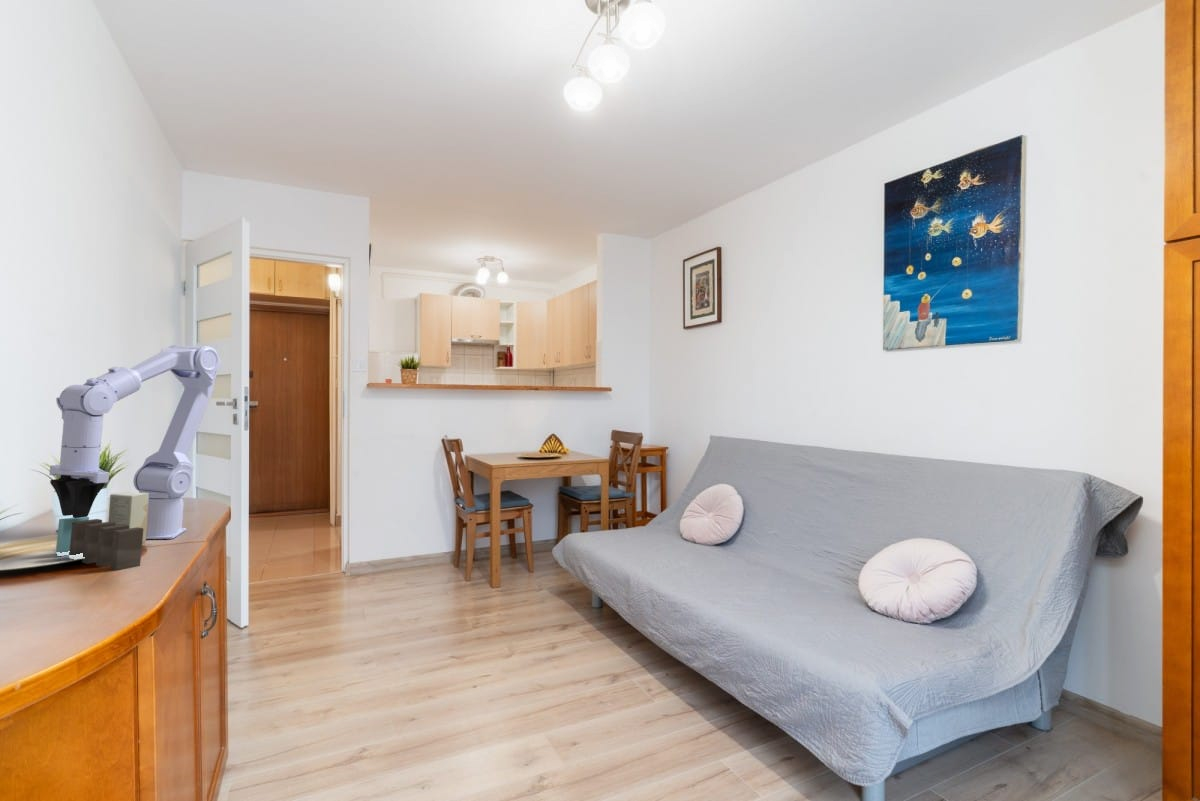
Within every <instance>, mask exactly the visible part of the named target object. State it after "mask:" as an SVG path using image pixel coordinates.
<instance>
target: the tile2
mask: <svg viewBox="0 0 1200 801" xmlns="http://www.w3.org/2000/svg"><path fill="white" fill-rule="evenodd" d="M96 523H103V520H102V519H99V518H94V519H89V520H84V521H76V522H72V531H71V542H70V552H69V555H76V554H80V553H83V549H84V539H85V528H86V525H88V524H96Z"/></svg>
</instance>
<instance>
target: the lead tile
mask: <svg viewBox="0 0 1200 801" xmlns="http://www.w3.org/2000/svg"><path fill="white" fill-rule="evenodd" d="M89 518H90V517H89V516H87V517H81V518H73V517H67V518H59V519H58V526H57V527H58V528H57V538H56V547H55V553H56V552H60V553H62V552H68V551H70V542H71V531H72V522H76V521H84V520H90V519H89Z"/></svg>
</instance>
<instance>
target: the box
mask: <svg viewBox="0 0 1200 801" xmlns="http://www.w3.org/2000/svg"><path fill="white" fill-rule="evenodd" d="M148 499H149V493H139V491H137V492H136V491H123V492H116V493H111V494H110V495H109V506H108V507H109V508H108V509H109V510H108V520H107V522H115V523H116V524H115V526H116V525H123V524H124V525H129V529H130V528H136V527H139V528H144V529H143V540H142V547H143V546H146V544H147V543H146V542H147V541H146V540H147V539H146V529H147V514H148Z"/></svg>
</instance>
